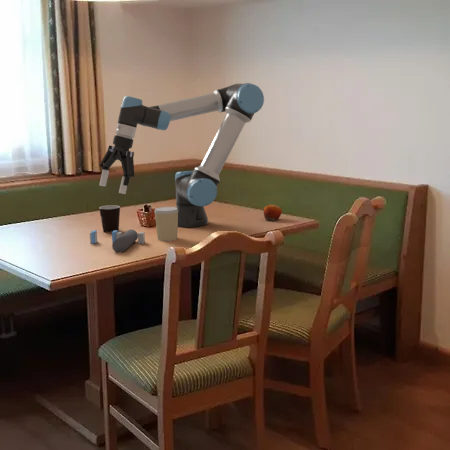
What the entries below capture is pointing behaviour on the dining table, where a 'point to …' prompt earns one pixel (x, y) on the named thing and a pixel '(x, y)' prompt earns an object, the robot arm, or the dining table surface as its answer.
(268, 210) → the fruit
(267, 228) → the dining table surface
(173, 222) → the coffee cup
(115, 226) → the coffee mug
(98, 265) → the dining table surface
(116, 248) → the dark gray cylinder
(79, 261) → the dining table surface
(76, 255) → the dining table surface
